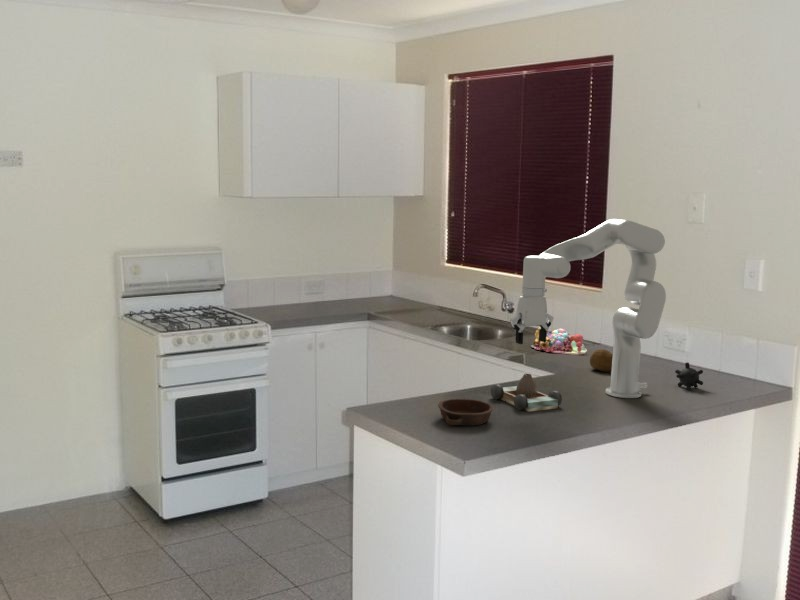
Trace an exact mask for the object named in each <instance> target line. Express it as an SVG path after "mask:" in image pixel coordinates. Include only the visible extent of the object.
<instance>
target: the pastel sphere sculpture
mask: <svg viewBox="0 0 800 600" xmlns="http://www.w3.org/2000/svg"><path fill="white" fill-rule="evenodd" d="M540 329H541V328H540V326H539V327H538V328H537V329H536V330H535V333H534V338H535V339H534V341H533V343H532V345H530V347H531V348H534V350H539V352H541V351H543V352H544V351H545V353H553V354H563V355H572V356H573V355H575V356H578V355H581V356H582V355H584V354H586V353H587V352H588V349H587V348H585V347H586V346H585V344H583V341H584V337H583V335H582V334H579V333H577V334H571V335H570V333H568V332H567V331H566V329H565V328H558V329H555V330H553V331H551V332H550V330H547V333H546V342H542V341H539V330H540Z"/></svg>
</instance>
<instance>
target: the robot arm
mask: <svg viewBox="0 0 800 600" xmlns="http://www.w3.org/2000/svg"><path fill="white" fill-rule="evenodd" d="M665 239H666V238H665V236H664V234H663V233H662V231H660V230H658V229H657V228H656V229H655V228H653V227H650V226H647V225H643V224H640V223H638V222H635V221H633V220H629V219H619V218H610V219H608V220H606V221H604V222H602V223H601V224H598V225H597V226H596V227H594V228H592V229H590V230H588V231H587V232H586V233H584V234H581V235H579V236H577V237H573V238H571V239H568V240H565V241H563V242H561V243H560V242H559V243H557V244H555V245H553V246H551V247H549V248H548V249H546V250H544V251H543V252H542V253H540V254H538V255H527V256H525V257H524V258H523V267H522V269H523V270H522V285H521V286H522V291H521V295H520V296H519V298H518V300H517V302H518V303H517V306H516V307H517V308H516V314H515V316H513V317H511V318H510V320H509V321H510V324H511V328H513V331H515V343H516V344H519V345H523V344H524V343H523V342H524V331H523V330H524V329H525V328H528V327H530V328H531V327H538V326H539V327H540V328H541V329H540V330H539V341H542V342H546V335H547V334H548V331H549V328H550V327H551V326H552V322H553V320H554V316H553V315H551V314H549V313H548V306H547V305H548V304H547V298H546V296H545V295H546V294H545V293H547V292H548V290H547V288H546V278H552V279H553V278H554V279H562V278H564V277H565V278H566V277H567V276H568V275H569V273H570V271H571V267H572V266H571V263H570V262H574V261H580V260H581V261H582V260H587V259H592V258H594V257H597V256H598V255H599V254H601V253H603V252H604V251H606V250H608V249H609V248H611V247H613V246H614V245H623V246H625V247H626V249H627V250H628V252H629V254H630V257H631V266H630V269H629V274H628V277H627V281H626V284H625V289H624V294H623V295H624V298H625V300H626V301H627V302H628V303H630V304H633V305H636V306H638V307H639V308H635V307H632V306H631V307H629V306H623V307H620V308H619V309H618V308H617V310H616V311H615V312H614V314H613V317H612V331H613V347H612V348H613V349H612V354H613V358H612V371H611V372H610V384H609V385H610V386H609V387H606V388H605V394H607V395H609V396H612V397H614V398H615V397H616V398H620V399H638V398H640V397H641V396H642V391H640V390H641V389H646V388H648V387H649V386H648V383H647V382H639V376H640V375H639V372H640V360H641V348H642V345H641V339H642V340H644V339H650V338H651V337H653V336H654V335H655V334H656V333H657V331H658V328H659V325H660V322H661V318H662V316H663V315H662V314H663V311H664V308H665V304H666V300H667V294H666V290H665V287H664V286H663V284H662V283H660V282H658V281H655V280H654V279H655V274H656V270H657V259H656V254H658V253H661V251H662V250H663V249H664V247H665V243H666V241H665Z"/></svg>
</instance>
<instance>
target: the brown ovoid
mask: <svg viewBox="0 0 800 600" xmlns="http://www.w3.org/2000/svg"><path fill="white" fill-rule="evenodd" d="M516 386H517V387H516V392H517V395H521V394H524V395H525V396H526V397H527V398H534V397H535V396H536V392H537V390H538V386H537V383H536V381H535V380H534V378H533V375H532V374H531V373H524V374H523V376H522V377H520V379H519V380H518V381H517V385H516Z"/></svg>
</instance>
